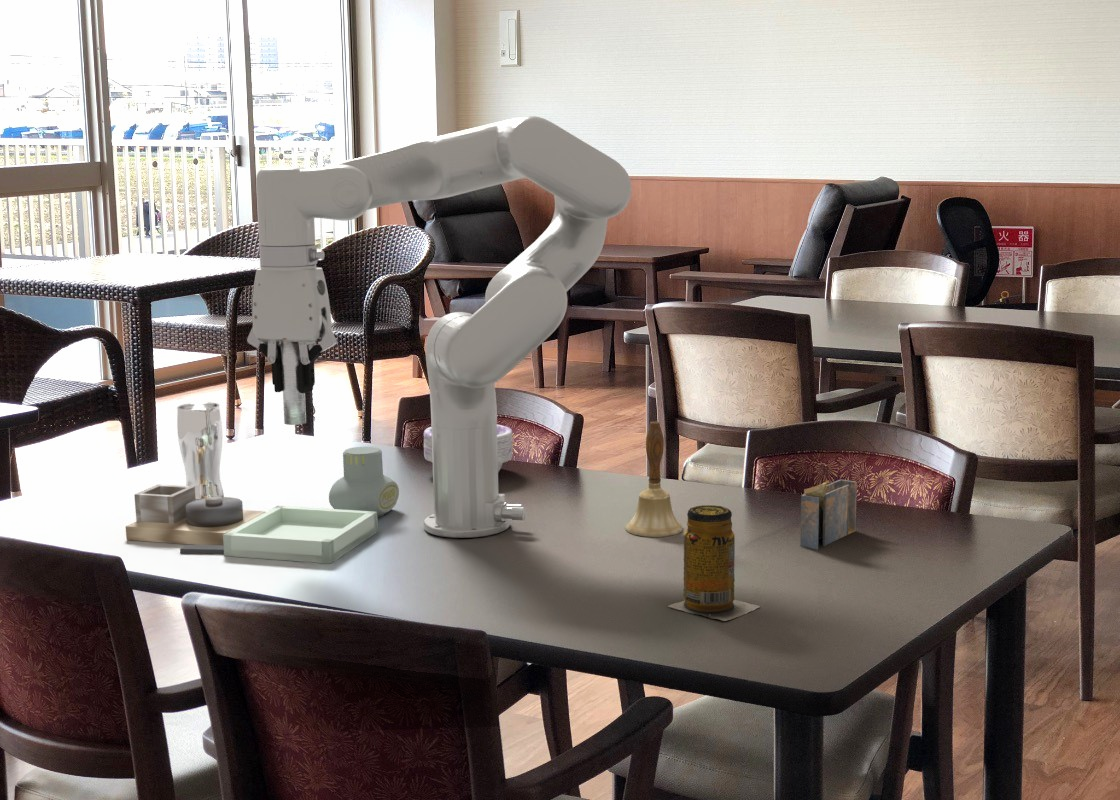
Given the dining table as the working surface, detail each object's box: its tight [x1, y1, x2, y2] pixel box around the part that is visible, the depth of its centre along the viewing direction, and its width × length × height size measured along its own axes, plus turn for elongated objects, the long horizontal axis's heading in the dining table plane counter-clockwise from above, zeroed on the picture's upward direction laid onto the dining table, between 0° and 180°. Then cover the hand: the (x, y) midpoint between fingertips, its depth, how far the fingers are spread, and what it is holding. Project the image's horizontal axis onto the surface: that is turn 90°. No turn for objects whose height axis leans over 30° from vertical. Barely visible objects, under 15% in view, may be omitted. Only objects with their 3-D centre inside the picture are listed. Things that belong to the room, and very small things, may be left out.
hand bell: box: [625, 420, 684, 538], centre depth 195 cm, size 8×8×16 cm
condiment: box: [667, 504, 761, 622], centre depth 161 cm, size 7×8×12 cm
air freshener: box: [328, 446, 400, 518], centre depth 206 cm, size 11×8×10 cm
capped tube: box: [281, 338, 307, 426], centre depth 187 cm, size 4×4×13 cm
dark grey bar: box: [179, 544, 224, 555], centre depth 188 cm, size 14×2×1 cm, turn 84°
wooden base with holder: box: [125, 484, 267, 545], centre depth 198 cm, size 16×12×6 cm
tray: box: [223, 505, 379, 564], centre depth 191 cm, size 16×16×3 cm
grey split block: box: [799, 479, 858, 550], centre depth 189 cm, size 11×3×10 cm, turn 141°
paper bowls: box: [423, 423, 514, 473], centre depth 231 cm, size 15×15×8 cm
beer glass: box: [176, 401, 225, 500], centre depth 218 cm, size 7×7×15 cm
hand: (293, 389), depth 188 cm, fingers closed on capped tube, 3 cm apart
